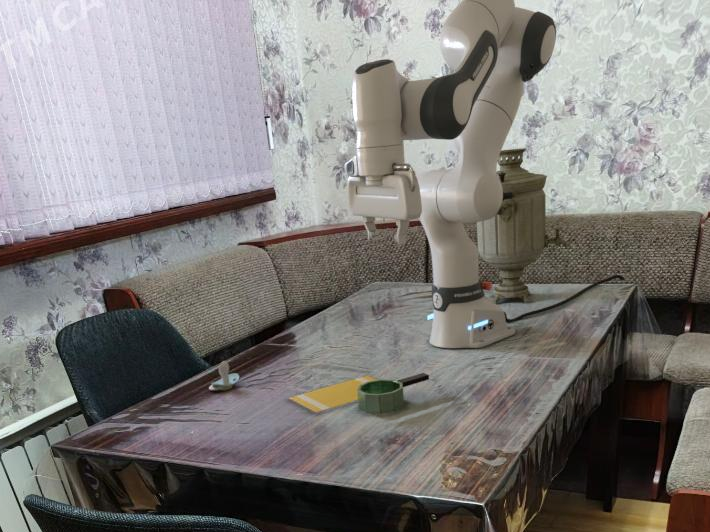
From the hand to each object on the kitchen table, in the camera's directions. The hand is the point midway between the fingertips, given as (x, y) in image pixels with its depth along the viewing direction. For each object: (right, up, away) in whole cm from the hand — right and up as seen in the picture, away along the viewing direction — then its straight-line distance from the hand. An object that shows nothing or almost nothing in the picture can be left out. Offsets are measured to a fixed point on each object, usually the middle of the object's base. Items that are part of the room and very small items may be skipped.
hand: (386, 242), depth 140 cm
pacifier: (-37, -24, +22) cm, 50 cm away
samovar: (+40, +12, +73) cm, 84 cm away
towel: (-9, -28, +12) cm, 32 cm away
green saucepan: (+2, -31, +5) cm, 31 cm away
